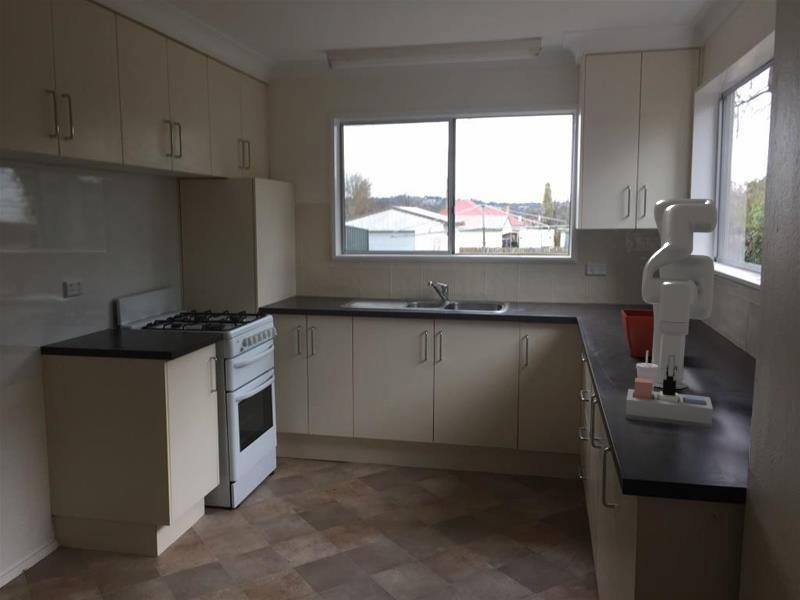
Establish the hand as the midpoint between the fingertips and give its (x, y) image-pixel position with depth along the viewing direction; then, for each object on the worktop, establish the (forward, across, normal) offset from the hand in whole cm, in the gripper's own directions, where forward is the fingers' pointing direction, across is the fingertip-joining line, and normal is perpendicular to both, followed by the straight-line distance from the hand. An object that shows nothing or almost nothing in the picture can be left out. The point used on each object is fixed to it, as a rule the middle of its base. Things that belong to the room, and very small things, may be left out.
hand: (668, 394), depth 174 cm
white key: (+5, 0, 0) cm, 5 cm away
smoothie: (+6, -20, -6) cm, 22 cm away
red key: (+1, 0, -6) cm, 7 cm away
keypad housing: (+6, 0, 0) cm, 6 cm away
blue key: (+5, 0, +6) cm, 8 cm away
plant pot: (+6, -86, -7) cm, 87 cm away
